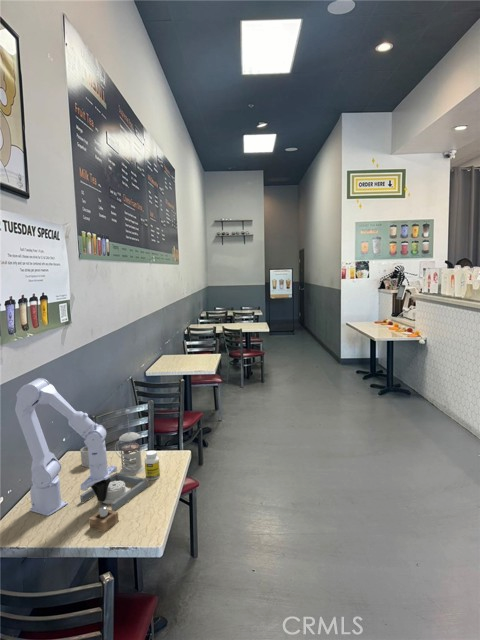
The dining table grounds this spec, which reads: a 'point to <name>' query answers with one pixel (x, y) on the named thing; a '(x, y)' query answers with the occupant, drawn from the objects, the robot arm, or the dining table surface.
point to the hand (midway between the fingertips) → (101, 500)
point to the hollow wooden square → (103, 521)
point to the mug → (84, 457)
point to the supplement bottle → (152, 465)
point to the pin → (103, 512)
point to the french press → (133, 465)
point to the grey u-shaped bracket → (137, 481)
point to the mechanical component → (115, 491)
